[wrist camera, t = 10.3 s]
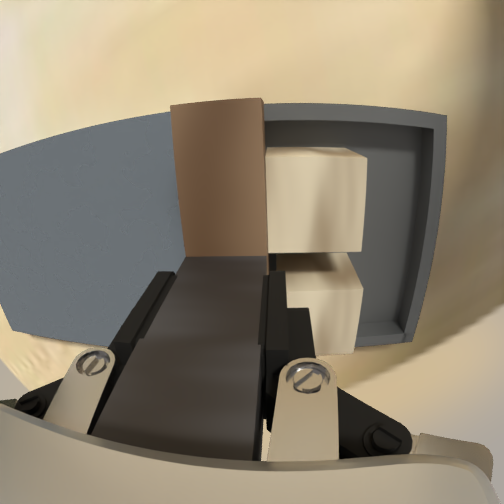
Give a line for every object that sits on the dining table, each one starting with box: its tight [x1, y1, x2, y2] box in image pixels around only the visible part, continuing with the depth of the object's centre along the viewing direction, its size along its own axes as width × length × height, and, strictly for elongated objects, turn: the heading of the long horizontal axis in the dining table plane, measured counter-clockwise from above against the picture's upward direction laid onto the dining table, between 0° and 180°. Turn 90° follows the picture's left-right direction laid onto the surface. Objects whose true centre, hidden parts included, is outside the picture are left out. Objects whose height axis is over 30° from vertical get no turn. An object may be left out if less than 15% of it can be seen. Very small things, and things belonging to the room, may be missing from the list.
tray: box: [264, 103, 447, 347], centre depth 17 cm, size 11×14×2 cm
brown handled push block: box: [91, 98, 269, 461], centre depth 9 cm, size 3×14×12 cm, turn 2°
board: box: [0, 112, 186, 347], centre depth 18 cm, size 20×14×2 cm
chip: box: [265, 147, 367, 253], centre depth 14 cm, size 4×4×4 cm
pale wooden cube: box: [276, 253, 363, 356], centre depth 16 cm, size 4×4×4 cm
